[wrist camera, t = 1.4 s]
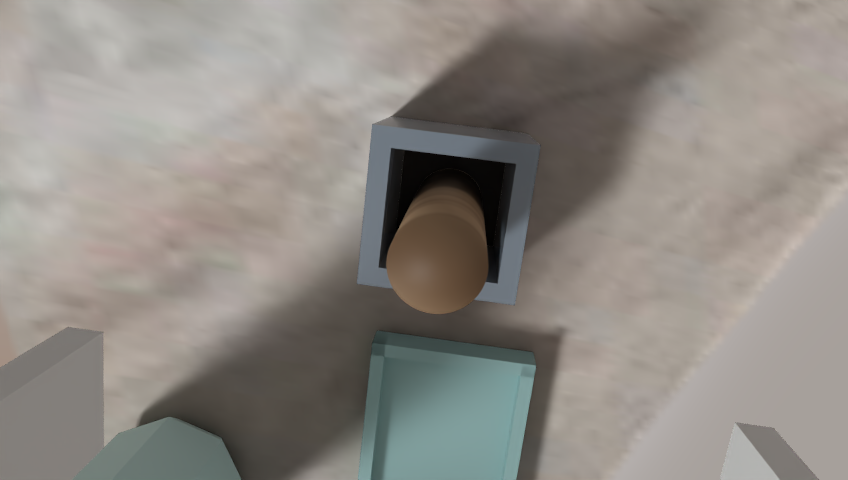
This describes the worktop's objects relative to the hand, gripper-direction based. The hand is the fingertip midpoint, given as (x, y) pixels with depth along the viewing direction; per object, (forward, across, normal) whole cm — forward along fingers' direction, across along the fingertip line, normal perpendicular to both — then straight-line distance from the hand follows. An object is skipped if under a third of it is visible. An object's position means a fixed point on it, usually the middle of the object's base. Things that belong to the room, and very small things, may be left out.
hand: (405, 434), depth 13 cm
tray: (+26, +2, -15) cm, 30 cm away
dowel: (+26, 0, 0) cm, 26 cm away
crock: (+26, 0, +1) cm, 26 cm away
